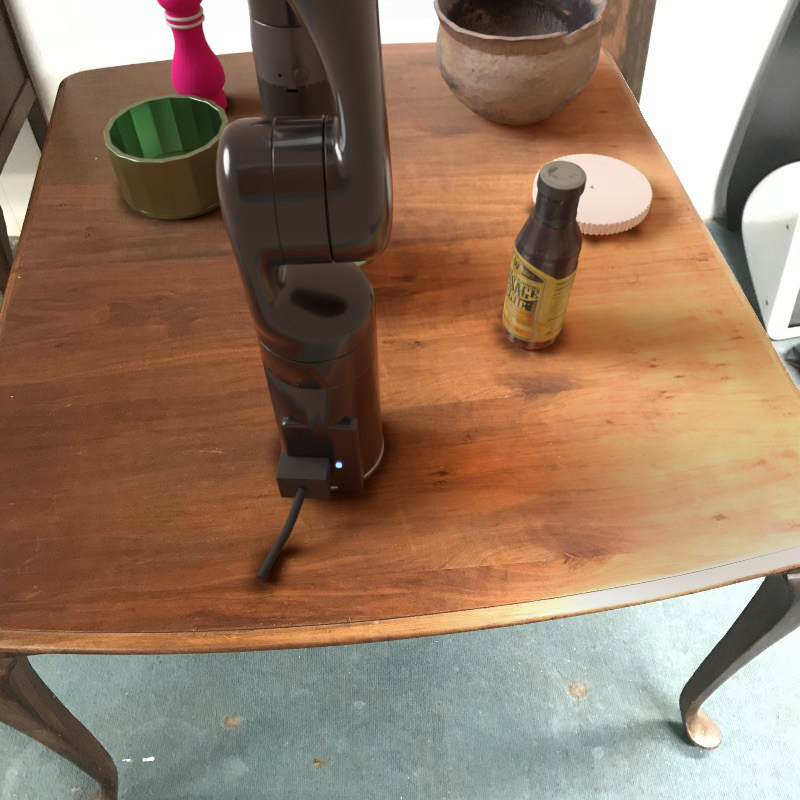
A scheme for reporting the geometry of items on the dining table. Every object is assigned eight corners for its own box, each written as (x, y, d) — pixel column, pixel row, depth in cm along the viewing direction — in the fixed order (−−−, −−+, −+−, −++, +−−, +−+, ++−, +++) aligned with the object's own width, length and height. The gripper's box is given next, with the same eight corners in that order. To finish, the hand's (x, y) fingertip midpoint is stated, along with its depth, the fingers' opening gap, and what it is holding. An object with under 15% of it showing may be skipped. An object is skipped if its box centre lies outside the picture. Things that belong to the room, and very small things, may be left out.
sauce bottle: (490, 319, 82) (509, 157, 67) (543, 304, 84) (573, 142, 68) (518, 362, 78) (544, 200, 63) (572, 346, 80) (611, 183, 64)
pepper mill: (176, 98, 111) (137, -53, 95) (226, 90, 112) (196, -60, 97) (182, 125, 107) (143, -29, 91) (234, 116, 108) (204, -37, 92)
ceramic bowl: (547, 169, 99) (565, 55, 87) (402, 122, 106) (401, 11, 95) (612, 90, 111) (636, -20, 99) (478, 52, 118) (485, -54, 107)
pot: (226, 221, 93) (213, 163, 87) (109, 218, 94) (87, 160, 88) (248, 152, 102) (237, 95, 96) (141, 150, 103) (123, 93, 97)
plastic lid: (636, 170, 99) (640, 153, 97) (657, 242, 90) (663, 224, 88) (526, 171, 99) (528, 153, 97) (537, 242, 90) (539, 224, 88)
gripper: (268, 22, 72) (291, 179, 86) (240, 101, 64) (270, 262, 77) (348, 23, 72) (358, 180, 85) (330, 103, 63) (345, 264, 77)
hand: (316, 218), depth 81 cm, fingers closed
